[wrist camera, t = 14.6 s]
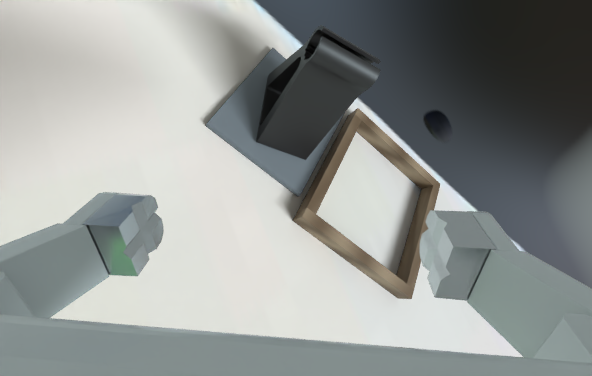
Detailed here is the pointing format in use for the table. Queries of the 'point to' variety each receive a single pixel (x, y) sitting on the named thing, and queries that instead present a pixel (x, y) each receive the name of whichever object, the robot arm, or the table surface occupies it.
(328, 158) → the walnut frame
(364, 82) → the phone stand
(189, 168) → the table surface
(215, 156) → the table surface
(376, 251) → the table surface
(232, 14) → the table surface
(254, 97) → the charcoal mat
